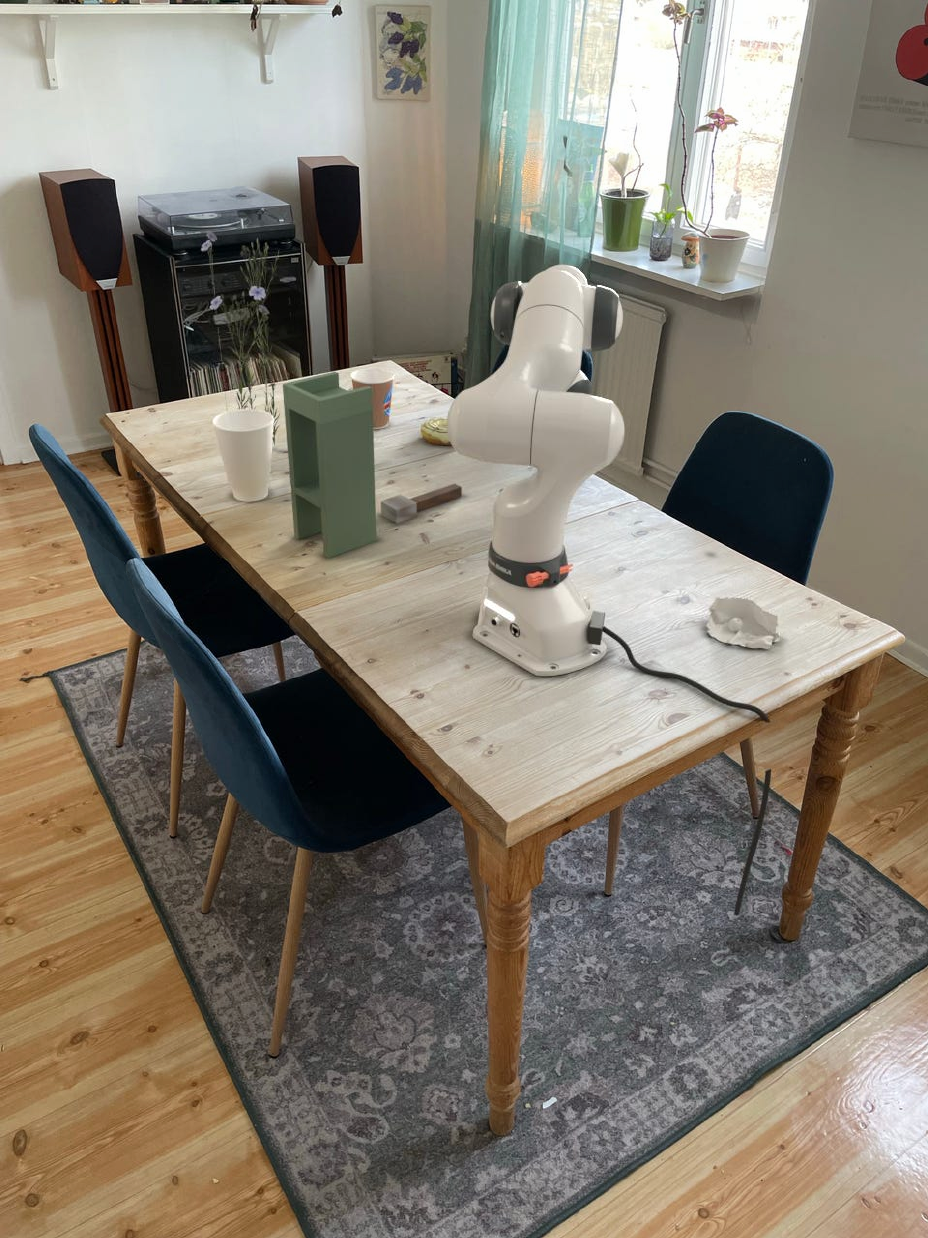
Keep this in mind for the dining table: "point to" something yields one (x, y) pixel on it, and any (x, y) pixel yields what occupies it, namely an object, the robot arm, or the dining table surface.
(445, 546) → the dining table surface
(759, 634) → the jagged white shell
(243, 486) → the cup
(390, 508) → the mallet
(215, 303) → the wildflower
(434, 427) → the decorated donut
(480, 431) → the robot arm
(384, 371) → the coffee cup
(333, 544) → the stand
